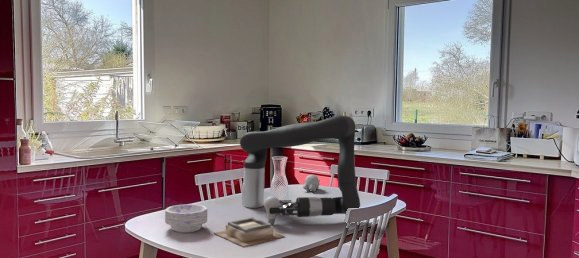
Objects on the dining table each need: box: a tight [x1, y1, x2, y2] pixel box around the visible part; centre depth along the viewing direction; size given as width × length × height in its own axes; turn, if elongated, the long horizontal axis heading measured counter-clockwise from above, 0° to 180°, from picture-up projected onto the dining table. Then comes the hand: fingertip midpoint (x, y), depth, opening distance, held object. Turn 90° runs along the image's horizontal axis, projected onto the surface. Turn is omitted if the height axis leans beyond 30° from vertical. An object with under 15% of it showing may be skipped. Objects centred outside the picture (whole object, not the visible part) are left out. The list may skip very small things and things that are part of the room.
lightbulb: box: [263, 195, 280, 226], centre depth 183 cm, size 6×6×11 cm
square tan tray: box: [213, 217, 286, 248], centre depth 169 cm, size 18×18×4 cm
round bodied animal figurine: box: [302, 174, 321, 193], centre depth 246 cm, size 7×12×8 cm, turn 148°
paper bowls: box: [164, 203, 208, 234], centre depth 175 cm, size 15×15×8 cm
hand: (267, 208), depth 183 cm, fingers open, 8 cm apart
